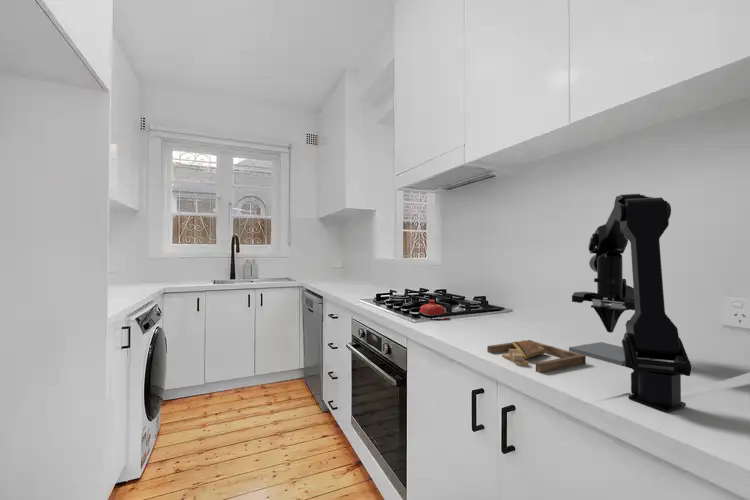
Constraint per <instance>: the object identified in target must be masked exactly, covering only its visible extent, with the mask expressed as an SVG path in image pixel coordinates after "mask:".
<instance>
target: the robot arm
mask: <svg viewBox="0 0 750 500" xmlns="http://www.w3.org/2000/svg"><path fill="white" fill-rule="evenodd" d="M613 204H614V205H613V209H612V210H611V213H610V214H609V217H608V219H607V221H606V223H604V224H602V225H600V226H598V227H597V228H596V229H595V231H594V233H592V235H591V236H590V240H589V243H588V251H589V254H593V256H591V257H590V259H589V262H588V263H589V267H590V269H591V270H592V271H594V272H595V273H596V274H597V275H596V276H597V277H596V278H594V279H593V282H594V283H597V287H596V288H597V289H596V290H597V292H591V291H574V292H573V294H572V295H571V302H573V303H577V304H578V303H579V304H582V303H584V302H590V303H591V302H592V305H590V309H591V308H593V309H594V311H595V312H596V314H597V316H598V317H599V318H600V320H601V323H602V324H603V327H604V328H605V329H606V332H607V333H609V334H610V333H613V332H614V330H615V328H616V325H617V323H618V321H619V319H620V317H621V316H622V314H623V313H625V311H629V310H631V311H634V312H633V314H632V316H631V318H630V319H627V321H626V323H625V333H624V334H623V338H622V339H621V344H622V346H621V347H623V351H624V356H625V365H624V367H626V368H628V369H632V370H633V371H632V372H631V373H630V393H631V395H628V399H629V400H631V401H634V402H637V403H639V404H642V405H646V406H648V407H651V408H654V409H657V410H660V411H662V412H667V413H669V412H672V411H675V410H678V409H681V408H684V407H687V403H686V402H684V401H682V385H681V384H682V383H681V381H682V379H681V378H682V377H681V376H687V377H691V372H692V364H691V362H690V359H689V357H688V354H687V351H686V349H685V347H684V344H683V342H682V340H681V338H680V337H679V330H678V327H677V326H676V325H675V324H674V322H673V321H672V319H670V317H669V316H668V315H667V314H666V311H665V310H666V309H665V297H664V295H665V294H664V284H663V271H662V269H663V268H662V256H661V245H660V243H661V242H660V239H661V237H662V235H663V234H664V232H665V231H666V230H667V228H668V227H669V225H670V220H669V219H670V218H671V215H672V207H671V204H670V203H669V202H668V201H667V200H664V199H663V197H652V196H646V195H645V194H641V193H634V194H633V193H628V194H627V193H626V194H620V195H616V196H615V199H614V203H613ZM628 241H629V242H630V243H629V244H630V255H631V267H632V268H631V269H632V271H631V273H632V282H633V283H632V286H633V287H632V286H630V285H628V284H627V280H626V278H624V277H623V274H624V273H623V255H622V254H624V253H625V250H626V249H627V248H626V247H628ZM637 358H645V359H649V360H644V359H637Z"/></svg>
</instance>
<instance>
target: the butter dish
mask: <svg viewBox="0 0 750 500" xmlns="http://www.w3.org/2000/svg"><path fill="white" fill-rule="evenodd" d="M428 302H429V303H426V304H422V305H420V308H419V312H418V314H419V313H420V312H422V313H425V314H428V315H435V314H445V313H446V310H445V307H444V306H443V305H442V304H441V305H440V304H437V303H435V302H436V300H435V299H429V300H428ZM450 319H451V317H449V318H444V319H443V320H450Z"/></svg>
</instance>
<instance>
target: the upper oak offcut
mask: <svg viewBox="0 0 750 500" xmlns="http://www.w3.org/2000/svg"><path fill="white" fill-rule="evenodd" d="M508 354H509V355H510V357H511V358H512V359H513V361H517V362H523V360H524V357H523V355H522V354H521V353H520V352H519V351H518V350H517V349H509V351H508Z"/></svg>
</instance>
